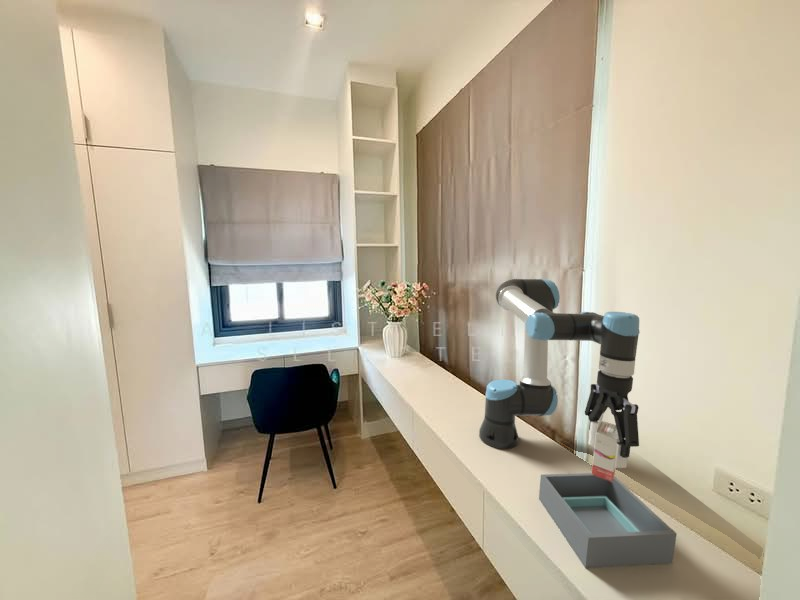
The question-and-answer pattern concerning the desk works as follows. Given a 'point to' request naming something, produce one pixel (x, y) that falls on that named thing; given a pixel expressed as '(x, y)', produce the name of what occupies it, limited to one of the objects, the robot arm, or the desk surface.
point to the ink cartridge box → (605, 450)
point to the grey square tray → (605, 521)
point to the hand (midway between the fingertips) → (606, 454)
